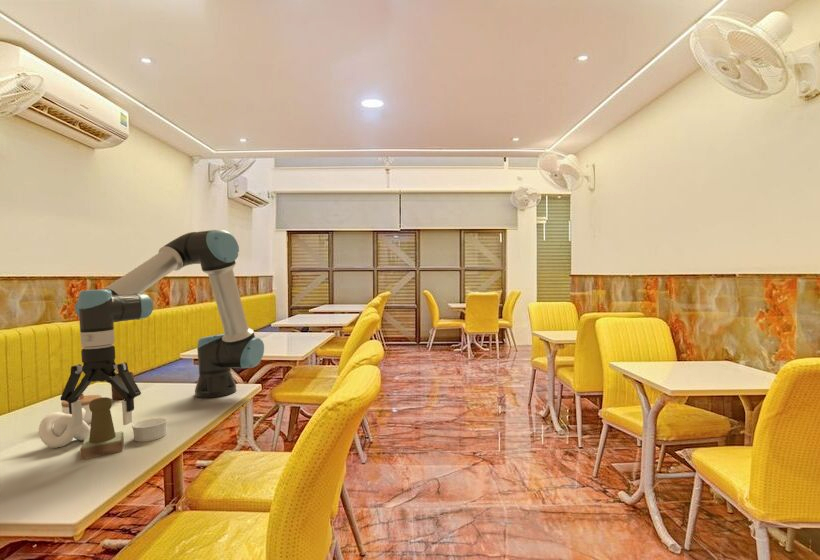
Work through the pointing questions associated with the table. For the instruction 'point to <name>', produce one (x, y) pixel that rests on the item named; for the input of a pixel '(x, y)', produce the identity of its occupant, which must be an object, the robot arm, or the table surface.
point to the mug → (115, 393)
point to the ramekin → (149, 429)
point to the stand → (102, 446)
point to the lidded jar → (85, 404)
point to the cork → (101, 420)
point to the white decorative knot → (62, 429)
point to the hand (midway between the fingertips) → (102, 424)
